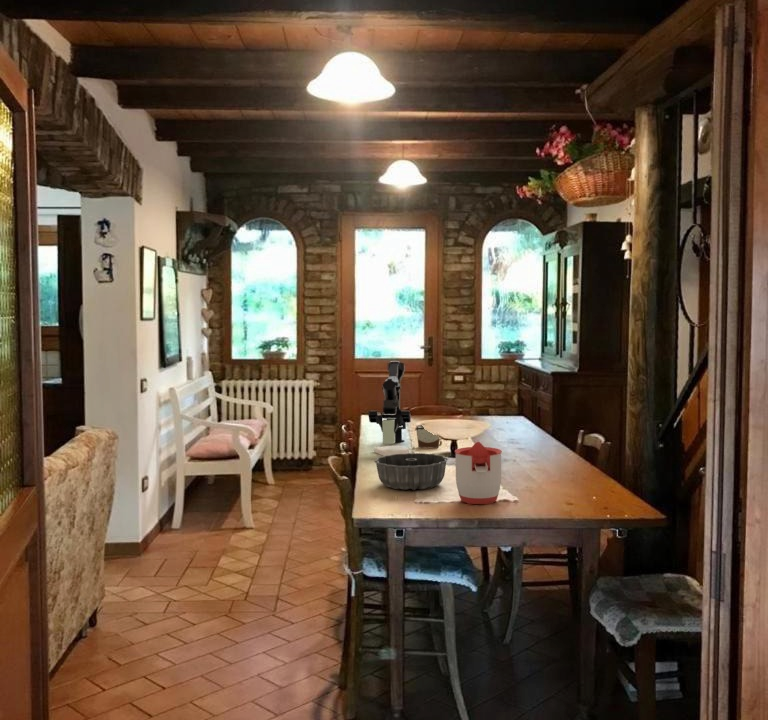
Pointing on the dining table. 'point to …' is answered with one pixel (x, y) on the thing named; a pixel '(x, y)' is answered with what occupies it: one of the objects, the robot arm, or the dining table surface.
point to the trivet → (391, 450)
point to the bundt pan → (411, 470)
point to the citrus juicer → (478, 474)
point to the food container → (426, 438)
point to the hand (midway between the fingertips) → (388, 431)
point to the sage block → (388, 431)
